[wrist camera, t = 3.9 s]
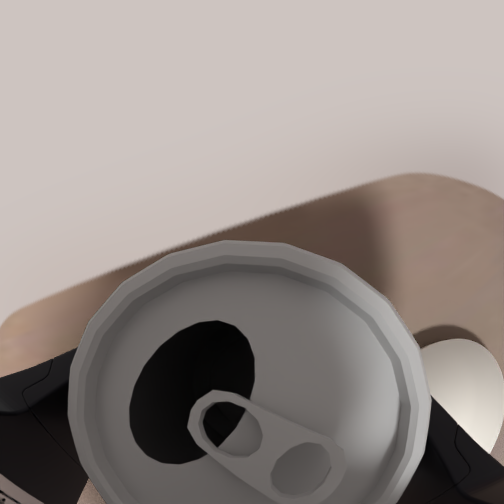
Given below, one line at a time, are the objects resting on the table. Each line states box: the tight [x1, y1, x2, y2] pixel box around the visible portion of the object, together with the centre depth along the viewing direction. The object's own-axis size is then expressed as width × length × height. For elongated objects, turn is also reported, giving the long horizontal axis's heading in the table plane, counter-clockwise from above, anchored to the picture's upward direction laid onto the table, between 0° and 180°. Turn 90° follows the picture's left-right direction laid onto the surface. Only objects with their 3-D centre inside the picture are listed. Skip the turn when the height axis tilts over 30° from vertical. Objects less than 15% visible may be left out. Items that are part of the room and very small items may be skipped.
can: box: [68, 240, 432, 504], centre depth 9 cm, size 8×8×12 cm
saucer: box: [420, 339, 504, 454], centre depth 11 cm, size 12×12×1 cm
